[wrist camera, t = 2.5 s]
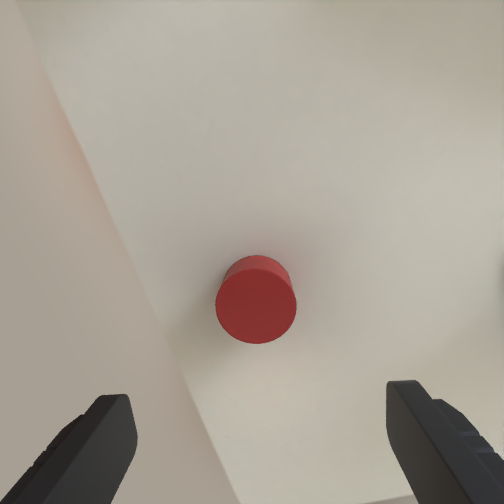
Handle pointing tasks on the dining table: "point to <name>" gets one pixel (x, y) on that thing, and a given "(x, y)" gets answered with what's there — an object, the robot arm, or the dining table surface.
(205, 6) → the dining table surface
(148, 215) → the dining table surface
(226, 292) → the cylinder
